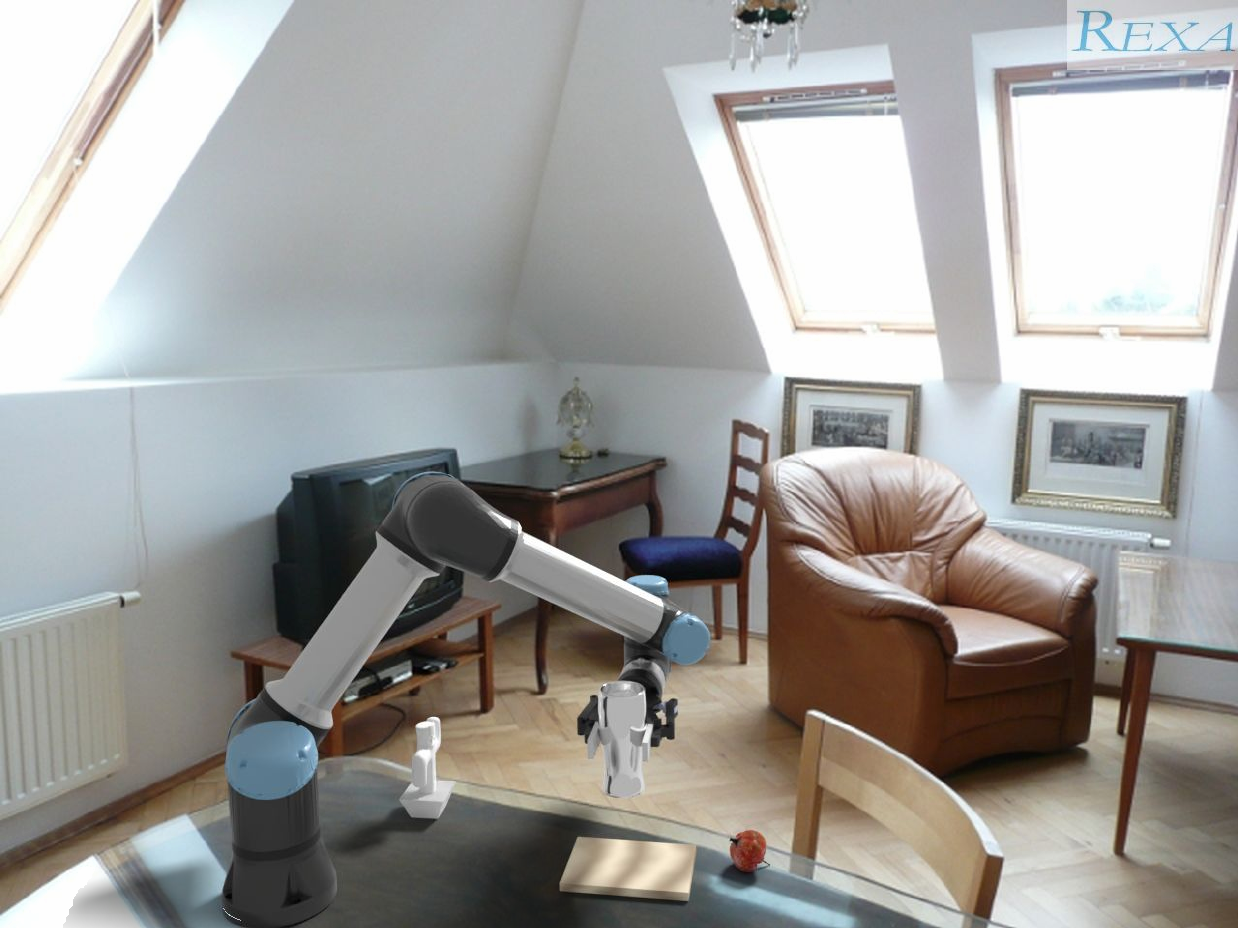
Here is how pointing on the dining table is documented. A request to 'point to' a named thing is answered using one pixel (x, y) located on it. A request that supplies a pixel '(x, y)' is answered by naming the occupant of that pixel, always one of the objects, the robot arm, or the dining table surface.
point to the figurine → (426, 775)
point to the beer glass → (622, 737)
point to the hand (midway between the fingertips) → (617, 750)
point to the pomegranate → (748, 850)
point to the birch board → (630, 868)
